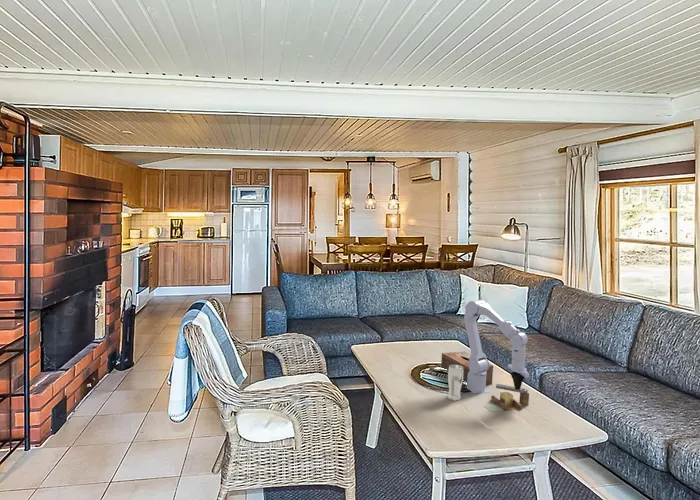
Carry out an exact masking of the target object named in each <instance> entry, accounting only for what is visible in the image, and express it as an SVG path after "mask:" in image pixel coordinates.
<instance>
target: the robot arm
mask: <svg viewBox="0 0 700 500" xmlns="http://www.w3.org/2000/svg"><path fill="white" fill-rule="evenodd" d="M464 308H465V311H464V317H463V319H464V321H463V322H464V326H465V329H466V335H467V340H468V345H469V350H470V354H471V355H470V357H469V370H470V371H469V373H468V376H467V386H468V387H467V388H466V389H467V390H468V391H470V392H472V393H473V394H488V393H489V391H488V390H487V389H486V386H487V385H486V372H487V370H488V369H489V366H490V364H491V363H490V361H489V360H488V359H487V354H486V353H484V352H483V349H482V343H481V338H480V333H479V328H478V323H477V319H478V318H479V316H486V317H487V318H488V319H489V320H491V321H492V322H494V323H495V325H497V326H498V329H499V331H500V332H501V333H502V334H503V335H504V336H505V337H507V338H508V339H509V341H510V344H511V347H512V348H511V350H512V351H511V364H509V363H508V364H507V369H508V370H511V372H510V373H509V374H510V376H511V379H512V381H513V384H514V385H513V387H515V389H520V388H522V384H523V381H524V379H526V378H528V379H529V378H530V372H528V369H527V368H526V349H527V348H526V345H527V343H528V342H529V337H528V335H527V334H526V332H523V331H521V330H520V329H518V328H517V327H516V326H515V325H513V322H512V321H508V320H504V319H503V318H502V317H501V316H500V315H499V314H498V313H497V312H496V311H495V310H494V309H493V308H492V307H491V305H490V304H489V303H488V302H486V301H485V300H484V299H478V300H471V301H468V302H467V304H466V305H464Z"/></svg>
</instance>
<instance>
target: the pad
mask: <svg viewBox="0 0 700 500" xmlns="http://www.w3.org/2000/svg"><path fill="white" fill-rule="evenodd" d="M484 407H485V408H486V409H487V410H489V411H490V412H503V411H504V410H503V409H501V408H500V407H499V406H497V405H496V404H492V405H491V404H490V405H489V404H488V405H484Z"/></svg>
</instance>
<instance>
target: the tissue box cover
mask: <svg viewBox="0 0 700 500" xmlns="http://www.w3.org/2000/svg"><path fill="white" fill-rule="evenodd" d="M470 355H471V353H468V352H467V351H451V352H442V353H441V361H440V362H441V364H440V369H441V368H444V369H447V370H449V365H460V366H462V367H463V371H464V375H463V380H464V381H466V382H467V376H468V373H469V371H470V370H469V357H470ZM489 364H490V366H489V369H488V370H487V372H486V386H487V385H488V386H489V385H490V386H491V385H493V376H494V375H493V374H494V365H493V364H491V363H489Z"/></svg>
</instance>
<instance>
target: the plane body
mask: <svg viewBox="0 0 700 500" xmlns="http://www.w3.org/2000/svg"><path fill="white" fill-rule="evenodd" d="M529 400H530V393H529V392H528V393H520V392H519V402H518V401H517V400H515V399H514V398H513V406H507V405H506V404H504V403H503V402H502V401H500V398H498V397H496V396H494V395H491V397H490V401H491V402H492V403H493V404H494V405H497V406H498V407H499V408H501V409H502V410H503V411H522V410H523V406H529V402H530V401H529Z"/></svg>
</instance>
